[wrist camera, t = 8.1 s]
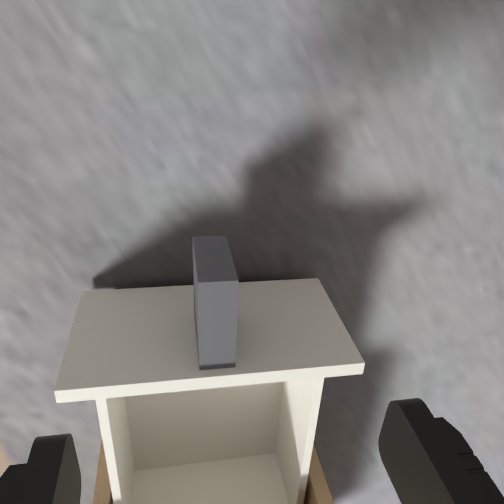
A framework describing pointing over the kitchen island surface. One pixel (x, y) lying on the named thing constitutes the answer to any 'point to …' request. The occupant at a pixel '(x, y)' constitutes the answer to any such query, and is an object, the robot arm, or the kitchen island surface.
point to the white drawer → (207, 382)
